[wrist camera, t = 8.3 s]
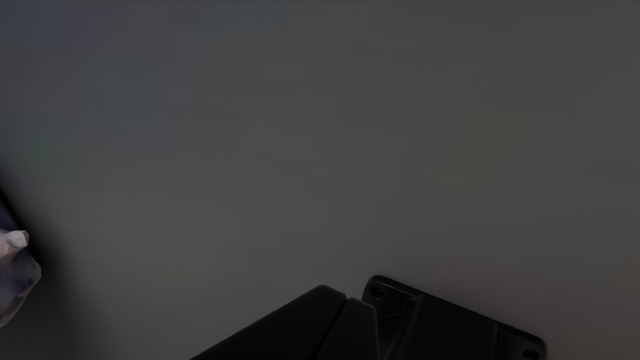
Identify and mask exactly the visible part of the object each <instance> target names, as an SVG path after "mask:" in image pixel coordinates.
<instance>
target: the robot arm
mask: <svg viewBox="0 0 640 360" xmlns="http://www.w3.org/2000/svg"><path fill="white" fill-rule="evenodd" d="M375 287H378V288H381V289H382V290H383V291H384V292H379V291H377V290H376V289H375ZM525 349H534V350H535V351H536V352H528V351H527V350H525ZM546 357H547V347H546V343H545V342H544V341H543V340H542V339H540V338H539V337H537V336H534V335H532V334H529V333H527V332H524V331H522V330H519V329H517V328H514V327H511V326H509V325H506V324H504V323H501V322H499V321H496V320H494V319H491V318H489V317H486V316H483V315H481V314H478V313H476V312H473V311H471V310H468V309H466V308H463V307H461V306H458V305H456V304H453V303H450V302H448V301H445V300H443V299H440V298H438V297H435V296H433V295H430V294H428V293H425V292H422V291H420V290H417V289H415V288H412V287H410V286H407V285H405V284H402V283H400V282H397V281H394V280H392V279H389V278H387V277H384V276H380V275H376V276H373V277H371V278H370V279H369V281H368V283H367V285H366V287H365V289H364V293H363V296H362V300H361V301H360V300H358V299H356V298H353V297H351V298H348V299H347V297H346V295H345V294H344V293H342V292H340V291H337V290H335V289H333V288H331V287H328V286H326V285H319V286H317V287H315V288H314V289H312V290H310V291H309V292H307V293H305V294H303V295H302V296H300V297H298V298H296V299H295V300H293V301H291V302H289V303H288V304H286V305H284V306H282V307H281V308H279V309H277V310H275V311H274V312H272V313H270V314H268V315H267V316H265V317H263V318H261V319H260V320H258V321H256V322H254V323H253V324H251V325H249V326H247V327H246V328H244V329H242V330H240V331H239V332H237V333H235V334H233V335H232V336H230V337H228V338H226V339H225V340H223V341H221V342H219V343H218V344H216V345H214V346H212V347H211V348H209V349H207V350H205V351H204V352H202V353H200V354H198V355H197V356H195V357H193V358H191V359H190V360H546Z"/></svg>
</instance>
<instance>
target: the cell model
mask: <svg viewBox="0 0 640 360" xmlns="http://www.w3.org/2000/svg"><path fill="white" fill-rule="evenodd" d="M28 244H29V234H28V233H27V232H26V231H19V228H18V225H17V223H16V220H15V219H14V217H13V216H12V215H11V213H10V212H9V210H8V209H7V207H6V206H5V204H4V203H3V201H2V200H1V198H0V328H1V327H3V326H4V325H6V324H7V323H8V322H9V321H10V320H11V319H12V318H13V317H14V315H15V314H16V313H17V312H18V311H19V309H20V308H21V306H22V304H23V303H24V301H25V299H26V297H27V295H28V294H29V292H30V291H31V289H32V288H33V287H34V286H35V285H36V283H37V282H38V281H39V280H40V278H41V267H40V265H39V264H38V263H37V262H36V261H35V260H34V258H33V257H32V256H31V254H30V253H29V251H28V250H27V249H26V246H28Z"/></svg>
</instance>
